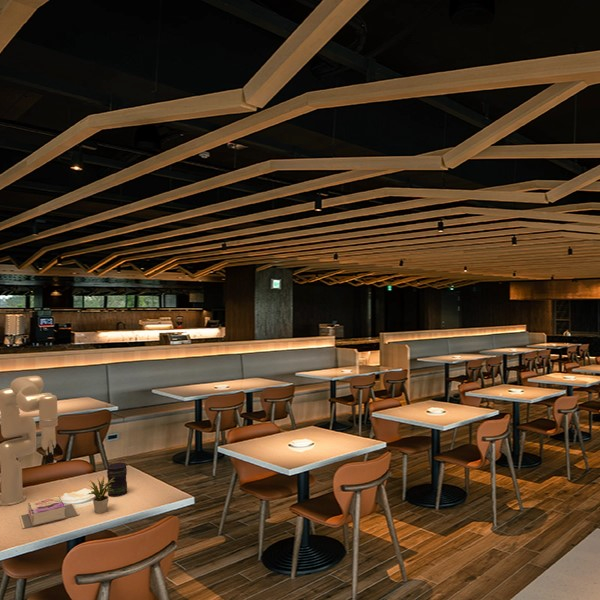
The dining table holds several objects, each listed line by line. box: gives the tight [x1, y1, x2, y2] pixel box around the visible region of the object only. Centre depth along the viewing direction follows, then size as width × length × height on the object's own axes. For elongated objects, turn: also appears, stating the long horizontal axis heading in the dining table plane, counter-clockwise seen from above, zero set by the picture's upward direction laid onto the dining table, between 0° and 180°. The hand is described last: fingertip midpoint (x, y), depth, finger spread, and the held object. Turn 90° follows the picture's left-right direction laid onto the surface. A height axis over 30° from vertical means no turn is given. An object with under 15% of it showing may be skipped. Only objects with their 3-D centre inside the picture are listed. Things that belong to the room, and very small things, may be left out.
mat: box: [18, 502, 80, 530], centre depth 240 cm, size 16×24×1 cm
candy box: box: [27, 495, 66, 527], centre depth 239 cm, size 14×6×16 cm
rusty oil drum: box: [106, 462, 128, 498], centre depth 267 cm, size 10×10×15 cm
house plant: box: [87, 476, 114, 514], centre depth 244 cm, size 14×14×16 cm
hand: (49, 462), depth 229 cm, fingers closed
